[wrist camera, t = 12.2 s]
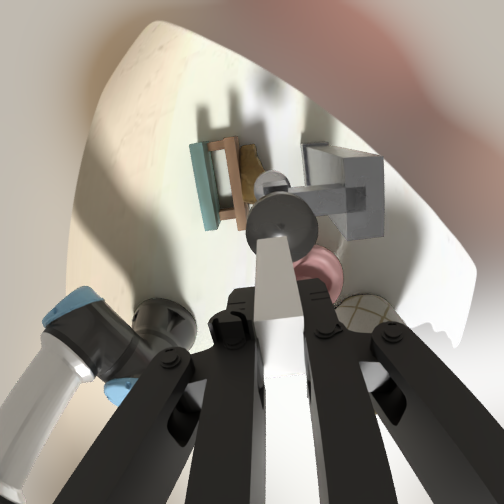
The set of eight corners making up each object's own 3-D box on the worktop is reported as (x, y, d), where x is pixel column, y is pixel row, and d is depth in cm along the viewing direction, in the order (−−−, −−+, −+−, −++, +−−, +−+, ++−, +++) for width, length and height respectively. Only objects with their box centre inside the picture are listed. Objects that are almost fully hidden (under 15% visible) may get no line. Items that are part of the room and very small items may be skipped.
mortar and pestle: (345, 249, 52) (365, 278, 41) (316, 297, 56) (326, 333, 46) (291, 224, 50) (299, 249, 39) (263, 277, 54) (264, 312, 44)
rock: (227, 134, 41) (210, 194, 42) (269, 134, 35) (251, 203, 37) (268, 154, 49) (254, 205, 51) (307, 158, 44) (292, 215, 45)
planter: (337, 279, 54) (368, 346, 36) (408, 295, 56) (449, 352, 38) (306, 347, 62) (318, 416, 44) (372, 355, 63) (396, 415, 45)
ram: (254, 209, 35) (251, 268, 20) (248, 170, 33) (240, 200, 18) (293, 204, 34) (319, 260, 20) (289, 165, 32) (315, 192, 18)
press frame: (265, 198, 48) (271, 254, 27) (258, 147, 44) (259, 159, 23) (329, 191, 47) (383, 241, 26) (325, 141, 44) (382, 151, 22)
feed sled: (211, 219, 50) (202, 235, 42) (197, 143, 44) (185, 145, 37) (249, 214, 49) (247, 229, 42) (237, 136, 44) (233, 136, 36)
